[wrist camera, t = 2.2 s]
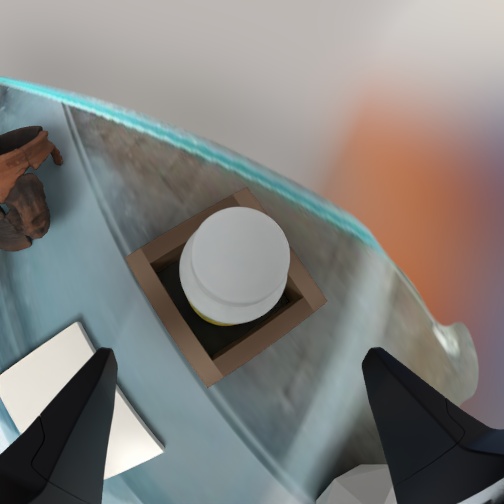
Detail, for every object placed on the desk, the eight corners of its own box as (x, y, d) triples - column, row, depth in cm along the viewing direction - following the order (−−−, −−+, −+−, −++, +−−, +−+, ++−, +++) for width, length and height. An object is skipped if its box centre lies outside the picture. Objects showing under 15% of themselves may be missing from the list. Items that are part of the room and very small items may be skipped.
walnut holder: (311, 305, 21) (327, 301, 18) (206, 379, 18) (207, 387, 15) (240, 205, 22) (247, 187, 19) (134, 268, 20) (124, 257, 17)
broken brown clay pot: (-21, 230, 18) (-45, 156, 12) (47, 185, 24) (37, 115, 19) (22, 298, 15) (-23, 200, 9) (110, 229, 22) (100, 135, 16)
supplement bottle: (264, 258, 21) (311, 204, 12) (256, 330, 20) (303, 328, 11) (192, 247, 21) (188, 181, 12) (180, 320, 19) (163, 310, 10)
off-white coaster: (165, 448, 16) (163, 452, 15) (69, 489, 13) (66, 493, 12) (80, 322, 18) (76, 321, 17) (-3, 379, 14) (-8, 380, 14)
